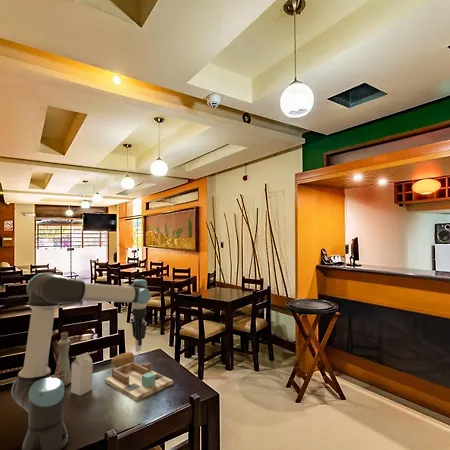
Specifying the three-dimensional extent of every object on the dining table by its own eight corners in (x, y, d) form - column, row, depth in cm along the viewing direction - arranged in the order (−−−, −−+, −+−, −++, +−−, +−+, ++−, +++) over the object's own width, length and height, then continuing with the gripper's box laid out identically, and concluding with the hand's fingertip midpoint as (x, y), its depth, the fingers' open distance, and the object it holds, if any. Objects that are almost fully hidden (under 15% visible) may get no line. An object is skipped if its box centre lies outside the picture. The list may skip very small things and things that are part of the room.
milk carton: (70, 392, 156) (71, 355, 157) (83, 386, 162) (83, 350, 163) (80, 396, 153) (80, 357, 154) (92, 389, 159) (92, 353, 160)
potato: (108, 367, 186) (108, 354, 186) (130, 361, 195) (130, 349, 195) (114, 373, 179) (114, 359, 179) (137, 366, 188) (137, 353, 188)
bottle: (71, 386, 163) (72, 333, 164) (51, 389, 160) (53, 335, 161) (72, 379, 171) (73, 328, 172) (54, 381, 168) (55, 330, 169)
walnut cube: (146, 372, 175) (146, 365, 175) (141, 371, 176) (141, 364, 177) (150, 370, 178) (151, 363, 179) (145, 368, 180) (145, 362, 180)
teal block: (147, 387, 157) (147, 377, 158) (141, 384, 161) (141, 375, 161) (155, 384, 161) (155, 374, 161) (149, 381, 164) (149, 372, 165)
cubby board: (136, 401, 148) (136, 389, 148) (105, 382, 167) (105, 372, 168) (172, 383, 166) (172, 373, 166) (140, 368, 185) (140, 359, 185)
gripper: (152, 308, 167) (151, 351, 165) (138, 304, 175) (137, 346, 174) (140, 310, 161) (139, 355, 160) (126, 307, 169) (125, 349, 168)
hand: (138, 350), depth 167 cm, fingers closed
